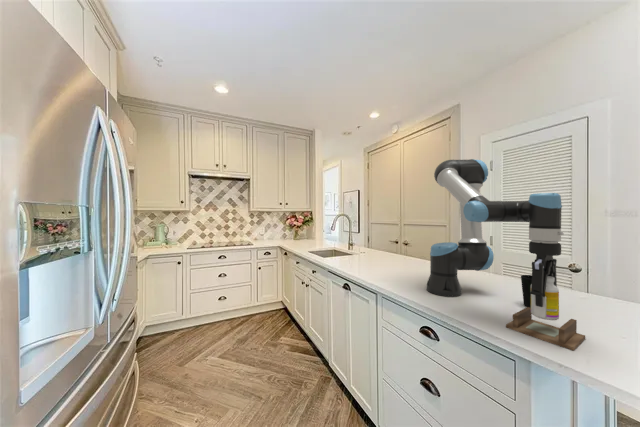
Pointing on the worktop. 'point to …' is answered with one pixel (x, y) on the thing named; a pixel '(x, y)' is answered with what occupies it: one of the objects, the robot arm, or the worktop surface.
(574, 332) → the holder
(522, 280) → the cup
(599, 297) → the worktop surface
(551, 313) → the supplement bottle
